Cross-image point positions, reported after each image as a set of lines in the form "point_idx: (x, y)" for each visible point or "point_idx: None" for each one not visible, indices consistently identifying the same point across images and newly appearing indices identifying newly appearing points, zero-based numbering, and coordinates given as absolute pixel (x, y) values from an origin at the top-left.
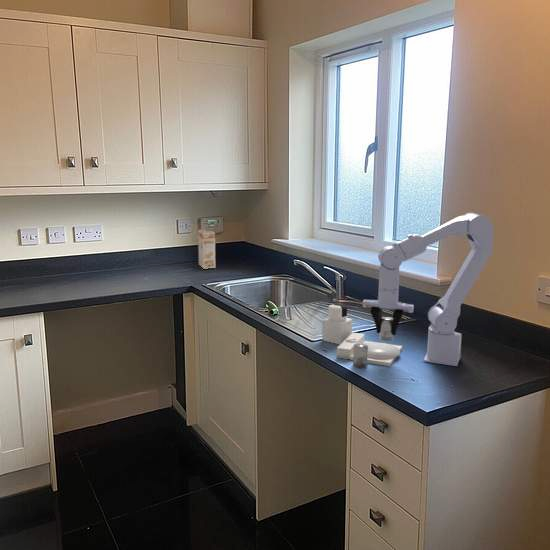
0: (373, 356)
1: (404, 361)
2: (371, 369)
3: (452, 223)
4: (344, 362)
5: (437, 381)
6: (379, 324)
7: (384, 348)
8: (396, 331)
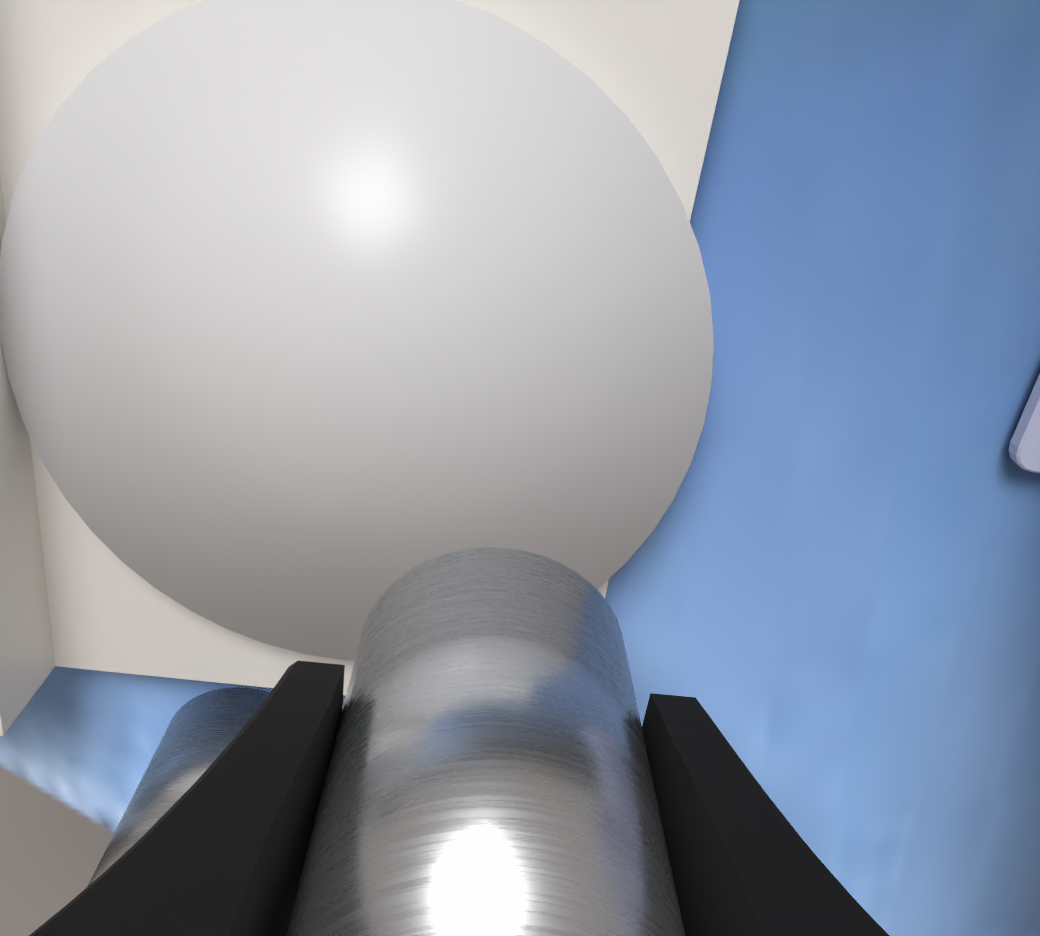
0: (351, 657)
1: (747, 502)
2: None
3: None
4: (50, 716)
5: (1019, 887)
6: (287, 919)
7: (452, 302)
8: (715, 729)
